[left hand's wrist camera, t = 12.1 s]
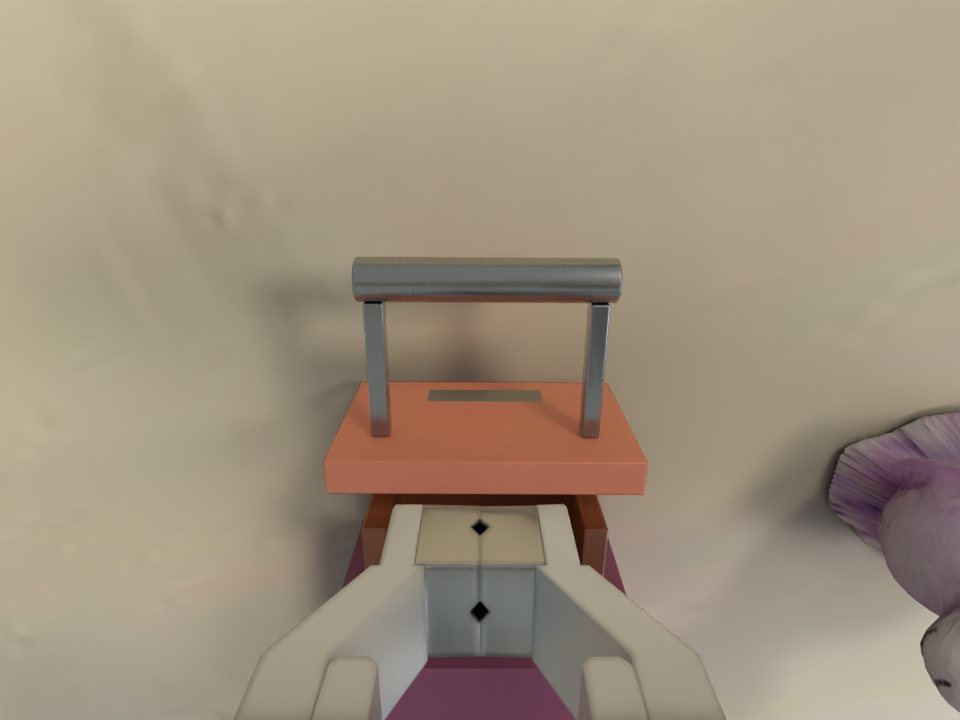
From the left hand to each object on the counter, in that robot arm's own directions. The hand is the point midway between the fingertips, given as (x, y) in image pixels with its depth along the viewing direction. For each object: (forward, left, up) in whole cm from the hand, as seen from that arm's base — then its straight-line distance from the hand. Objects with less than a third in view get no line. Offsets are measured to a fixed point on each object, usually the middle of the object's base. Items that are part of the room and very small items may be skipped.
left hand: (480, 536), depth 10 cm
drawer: (+9, 0, -14) cm, 17 cm away
